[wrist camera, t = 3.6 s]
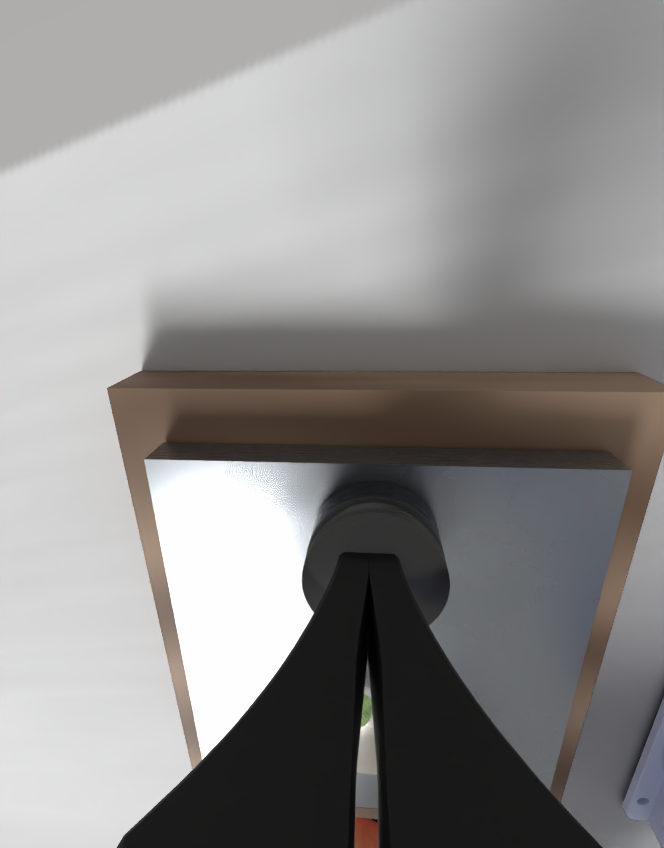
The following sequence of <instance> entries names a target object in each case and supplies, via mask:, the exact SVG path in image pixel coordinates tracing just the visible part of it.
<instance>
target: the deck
mask: <svg viewBox="0 0 664 848" xmlns="http://www.w3.org/2000/svg"><path fill="white" fill-rule="evenodd" d="M144 461H145V467H146V472H147V477H148V482H149V487H150V492H151V497H152V503H153V508H154V513H155V518H156V523H157V528H158V533H159V539H160V544H161V549H162V554H163V559H164V564H165V569H166V575H167V580H168V585H169V590H170V595H171V600H172V605H173V611H174V616H175V621H176V626H177V631H178V636H179V641H180V647H181V652H182V657H183V662H184V667H185V672H186V677H187V683H188V688H189V693H190V698H191V703H192V708H193V713H194V719H195V724H196V729H197V734H198V739H199V744H200V749H201V755H202V759H203V758H204V757H205V756H206V755H207V754H208V753H209V752H210V751H211V750H212V749H213V748H214V747H215V745H216V744H217V743H218V742H219V741H220V740H221V739H222V738H223V737H224V736H225V735H226V734H227V733H228V732H229V730H230V729H231V728H232V727H233V726H234V725H235V724H236V722H237V721H238V720H239V719H240V718H241V716H242V715H243V714H244V713H245V712H246V710H247V709H248V708H249V707H250V705H251V704H252V703H253V702H254V700H255V699H256V698H257V697H258V695H259V694H260V693H261V692H262V691H263V689H264V688H265V687H266V685H267V684H268V683H269V681H270V680H271V679H272V677H273V676H274V675H275V673H276V672H277V670H278V669H279V668H280V666H281V665H282V663H283V662H284V661H285V659H286V658H287V656H288V655H289V653H290V652H291V650H292V649H293V647H294V646H295V644H296V642H297V641H298V639H299V637H300V636H301V634H302V632H303V631H304V629H305V628H306V626H307V624H308V623H309V621H310V619H311V618H312V616H313V614H314V612H315V610H316V608H317V606H318V604H319V603H320V601H321V599H322V597H323V595H324V593H325V591H326V589H327V587H328V584H329V582H330V580H331V578H332V575H333V573H334V570H335V568H336V565H337V562H338V558H339V555H341V554H342V553H343V552H357V553H383V554H395V555H396V556H397V557H398V558H399V561H400V564H401V567H402V570H403V573H404V575H405V578H406V580H407V583H408V585H409V587H410V589H411V592H412V594H413V596H414V598H415V600H416V602H417V604H418V606H419V608H420V610H421V612H422V614H423V616H424V618H425V620H426V621H427V623H428V625H429V627H430V629H431V631H432V632H433V634H434V636H435V638H436V639H437V641H438V643H439V644H440V646H441V648H442V649H443V651H444V653H445V654H446V656H447V658H448V659H449V661H450V662H451V664H452V666H453V667H454V669H455V670H456V672H457V673H458V675H459V676H460V678H461V679H462V681H463V682H464V684H465V685H466V686H467V688H468V689H469V691H470V692H471V694H472V695H473V696H474V698H475V699H476V701H477V702H478V703H479V705H480V706H481V707H482V709H483V710H484V711H485V713H486V714H487V715H488V717H489V718H490V719H491V721H492V722H493V723H494V725H495V726H496V727H497V729H498V730H499V731H500V732H501V734H502V735H503V736H504V737H505V738H506V740H507V741H508V742H509V743H510V744H511V746H512V747H513V748H514V749H515V750H516V752H517V753H518V754H519V755H520V756H521V758H522V759H523V760H524V761H525V763H526V764H527V765H528V766H529V767H530V769H531V770H532V771H533V772H534V773H535V775H536V776H537V777H538V778H539V779H540V781H541V782H542V783H543V784H544V785H545V786H546V787H547V788H548V789H549V791H550V788H551V784H552V781H553V777H554V773H555V769H556V765H557V761H558V757H559V754H560V750H561V746H562V742H563V738H564V734H565V730H566V726H567V723H568V719H569V715H570V711H571V707H572V703H573V699H574V696H575V692H576V688H577V684H578V680H579V676H580V672H581V668H582V665H583V661H584V657H585V653H586V649H587V645H588V641H589V638H590V634H591V630H592V626H593V622H594V618H595V614H596V611H597V607H598V603H599V599H600V595H601V591H602V587H603V583H604V580H605V576H606V572H607V568H608V564H609V560H610V556H611V553H612V549H613V545H614V541H615V537H616V533H617V529H618V525H619V522H620V518H621V514H622V510H623V506H624V502H625V498H626V495H627V491H628V487H629V483H630V479H631V475H632V471H633V470H632V469H630V468H629V467H628V466H627V465H625V464H624V463H623V462H622V461H621V460H619V459H618V458H617V457H616V456H614V455H613V454H612V453H611V452H610V451H593V450H540V449H487V448H435V447H382V446H330V445H277V444H224V443H172V442H163V443H162V444H161V445H160V446H159V447H158V448H156V449H155V450H154V451H153V452H152V453H151V454H150V455H148V456H147V457H146V458H145V459H144ZM368 595H369V592H368ZM355 807H365V808H376V809H378V782H377V762H376V750H375V738H374V726H373V714H372V702H371V690H370V678H369V666H368V658H367V668H366V679H365V689H364V699H363V709H362V720H361V730H360V740H359V750H358V760H357V776H356V802H355Z"/></svg>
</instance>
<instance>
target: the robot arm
mask: <svg viewBox="0 0 664 848" xmlns="http://www.w3.org/2000/svg"><path fill="white" fill-rule="evenodd" d="M368 592H369V595H368ZM367 658H368V666H369V678H370V690H371V702H372V714H373V726H374V738H375V750H376V762H377V782H378V848H602V847H601V846H600V844H599V843H598V842H597V841H596V840H595V839H594V838H593V837H592V836H591V835H590V834H589V833H588V832H587V831H586V830H585V829H584V828H583V827H582V826H581V824H580V823H579V822H578V821H577V820H576V819H575V818H574V817H573V816H572V815H571V814H570V813H569V812H568V811H567V809H566V808H565V807H564V806H563V805H562V804H561V803H560V802H559V801H558V799H557V798H556V797H555V796H554V795H553V794H552V793H551V792H550V791H549V789H548V788H547V787H546V786H545V785H544V784H543V783H542V782H541V781H540V779H539V778H538V777H537V776H536V775H535V773H534V772H533V771H532V770H531V769H530V767H529V766H528V765H527V764H526V763H525V761H524V760H523V759H522V758H521V756H520V755H519V754H518V753H517V752H516V750H515V749H514V748H513V747H512V746H511V744H510V743H509V742H508V741H507V740H506V738H505V737H504V736H503V735H502V734H501V732H500V731H499V730H498V729H497V727H496V726H495V725H494V723H493V722H492V721H491V719H490V718H489V717H488V715H487V714H486V713H485V711H484V710H483V709H482V707H481V706H480V705H479V703H478V702H477V701H476V699H475V698H474V696H473V695H472V694H471V692H470V691H469V689H468V688H467V686H466V685H465V684H464V682H463V681H462V679H461V678H460V676H459V675H458V673H457V672H456V670H455V669H454V667H453V666H452V664H451V662H450V661H449V659H448V658H447V656H446V654H445V653H444V651H443V649H442V648H441V646H440V644H439V643H438V641H437V639H436V638H435V636H434V634H433V632H432V631H431V629H430V627H429V625H428V623H427V621H426V620H425V618H424V616H423V614H422V612H421V610H420V608H419V606H418V604H417V602H416V600H415V598H414V596H413V594H412V592H411V589H410V587H409V585H408V583H407V580H406V578H405V575H404V573H403V570H402V567H401V564H400V561H399V558H398V557H397V556H396V555H395V554H383V553H357V552H343V553H342V554H341V555H339V558H338V562H337V565H336V568H335V570H334V573H333V575H332V578H331V580H330V582H329V584H328V587H327V589H326V591H325V593H324V595H323V597H322V599H321V601H320V603H319V604H318V606H317V608H316V610H315V612H314V614H313V616H312V618H311V619H310V621H309V623H308V624H307V626H306V628H305V629H304V631H303V632H302V634H301V636H300V637H299V639H298V641H297V642H296V644H295V646H294V647H293V649H292V650H291V652H290V653H289V655H288V656H287V658H286V659H285V661H284V662H283V663H282V665H281V666H280V668H279V669H278V670H277V672H276V673H275V675H274V676H273V677H272V679H271V680H270V681H269V683H268V684H267V685H266V687H265V688H264V689H263V691H262V692H261V693H260V694H259V695H258V697H257V698H256V699H255V700H254V702H253V703H252V704H251V705H250V707H249V708H248V709H247V710H246V712H245V713H244V714H243V715H242V716H241V718H240V719H239V720H238V721H237V722H236V724H235V725H234V726H233V727H232V728H231V729H230V730H229V732H228V733H227V734H226V735H225V736H224V737H223V738H222V739H221V740H220V741H219V742H218V743H217V744H216V745H215V747H214V748H213V749H212V750H211V751H210V752H209V753H208V754H207V755H206V756H205V757H204V758H203V759H202V760H201V762H200V763H199V764H198V765H197V766H196V767H195V768H194V769H193V770H192V771H191V772H190V773H189V774H188V775H187V776H186V777H185V778H184V779H183V780H182V781H181V782H180V783H179V784H178V785H177V786H176V787H175V788H174V789H173V790H172V791H171V792H170V793H169V794H167V795H166V796H165V797H164V798H163V799H162V800H161V801H160V802H159V803H158V804H157V805H156V806H155V807H154V808H153V809H152V810H151V811H150V812H148V813H147V814H146V815H145V816H144V817H143V818H142V819H141V820H140V821H139V822H138V823H137V824H136V825H135V826H134V827H133V828H131V829H130V830H129V831H128V832H127V833H126V834H125V835H124V836H123V838H122V840H121V841H120V843H119V845H118V846H117V848H354V844H355V802H356V776H357V760H358V750H359V740H360V730H361V720H362V709H363V699H364V689H365V679H366V668H367ZM622 807H623V810H624V812H625V814H626V816H627V817H628V818H630V819H632V820H639V821H649V823H650V825H651V827H652V829H653V831H654V833H655V836H656V838H657V840H658V842H659V844H660V846H661V848H664V698H663V700H662V703H661V705H660V708H659V711H658V713H657V716H656V718H655V721H654V724H653V726H652V729H651V731H650V734H649V737H648V739H647V742H646V744H645V747H644V750H643V752H642V755H641V757H640V760H639V763H638V765H637V768H636V771H635V773H634V776H633V778H632V781H631V784H630V786H629V789H628V791H627V794H626V797H625V799H624V802H623V804H622Z"/></svg>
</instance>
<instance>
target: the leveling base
mask: <svg viewBox="0 0 664 848" xmlns="http://www.w3.org/2000/svg"><path fill="white" fill-rule="evenodd" d="M107 390H108V395H109V399H110V404H111V408H112V413H113V417H114V422H115V426H116V431H117V435H118V440H119V444H120V448H121V453H122V457H123V462H124V466H125V471H126V475H127V480H128V484H129V489H130V493H131V498H132V502H133V507H134V511H135V516H136V520H137V524H138V529H139V533H140V538H141V542H142V547H143V551H144V556H145V560H146V565H147V569H148V574H149V578H150V583H151V587H152V591H153V596H154V600H155V605H156V609H157V614H158V618H159V623H160V627H161V632H162V636H163V641H164V645H165V650H166V654H167V659H168V663H169V667H170V672H171V676H172V681H173V685H174V690H175V694H176V699H177V703H178V708H179V712H180V717H181V721H182V726H183V730H184V735H185V739H186V743H187V748H188V752H189V757H190V761H191V766H192V769H194V768H195V767H196V766H197V765H198V764H199V763H200V762H201V760H202V755H201V749H200V744H199V739H198V734H197V729H196V724H195V719H194V713H193V708H192V703H191V698H190V693H189V688H188V683H187V677H186V672H185V667H184V662H183V657H182V652H181V647H180V641H179V636H178V631H177V626H176V621H175V616H174V611H173V605H172V600H171V595H170V590H169V585H168V580H167V575H166V569H165V564H164V559H163V554H162V549H161V544H160V539H159V533H158V528H157V523H156V518H155V513H154V508H153V503H152V497H151V492H150V487H149V482H148V477H147V472H146V467H145V461H144V459H145V458H146V457H147V456H148V455H150V454H151V453H152V452H153V451H154V450H155V449H156V448H158V447H159V446H160V445H161V444H162V443H163V442H172V443H224V444H277V445H330V446H382V447H435V448H487V449H540V450H593V451H610V452H611V453H612V454H613V455H614V456H616V457H617V458H618V459H619V460H621V461H622V462H623V463H624V464H625V465H627V466H628V467H629V468H630V469H632V470H633V471H632V475H631V479H630V483H629V487H628V491H627V495H626V498H625V502H624V506H623V510H622V514H621V518H620V522H619V525H618V529H617V533H616V537H615V541H614V545H613V549H612V553H611V556H610V560H609V564H608V568H607V572H606V576H605V580H604V583H603V587H602V591H601V595H600V599H599V603H598V607H597V611H596V614H595V618H594V622H593V626H592V630H591V634H590V638H589V641H588V645H587V649H586V653H585V657H584V661H583V665H582V668H581V672H580V676H579V680H578V684H577V688H576V692H575V696H574V699H573V703H572V707H571V711H570V715H569V719H568V723H567V726H566V730H565V734H564V738H563V742H562V746H561V750H560V754H559V757H558V761H557V765H556V769H555V773H554V777H553V781H552V784H551V788H550V792H551V793H552V794H553V795H554V796H555V797H556V798H557V799H558V801H559V802H561V799H562V795H563V792H564V789H565V785H566V782H567V778H568V775H569V772H570V768H571V765H572V761H573V758H574V755H575V751H576V748H577V744H578V741H579V737H580V734H581V731H582V727H583V724H584V720H585V717H586V714H587V710H588V707H589V703H590V700H591V697H592V693H593V690H594V686H595V683H596V680H597V676H598V673H599V669H600V666H601V663H602V659H603V656H604V652H605V649H606V646H607V642H608V639H609V635H610V632H611V629H612V625H613V622H614V618H615V615H616V612H617V608H618V605H619V601H620V598H621V595H622V591H623V588H624V584H625V581H626V578H627V574H628V571H629V567H630V564H631V560H632V557H633V554H634V550H635V547H636V543H637V540H638V537H639V533H640V530H641V526H642V523H643V520H644V516H645V513H646V509H647V506H648V503H649V499H650V496H651V492H652V489H653V486H654V482H655V479H656V475H657V472H658V469H659V465H660V462H661V458H662V455H663V452H664V384H661V383H659V382H657V381H655V380H653V379H651V378H648V377H646V376H644V375H642V374H640V373H586V372H285V371H140V372H138V373H136V374H134V375H132V376H130V377H128V378H126V379H124V380H122V381H120V382H118V383H116V384H114V385H112V386H110V387H109V388H107ZM355 817H359V818H369V819H378V809H376V808H365V807H355Z"/></svg>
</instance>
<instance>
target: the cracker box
mask: <svg viewBox="0 0 664 848" xmlns="http://www.w3.org/2000/svg"><path fill="white" fill-rule="evenodd" d="M354 848H378V823H377V822H375V821H373V820H372V819H369V818H359V817H355V844H354Z"/></svg>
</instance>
